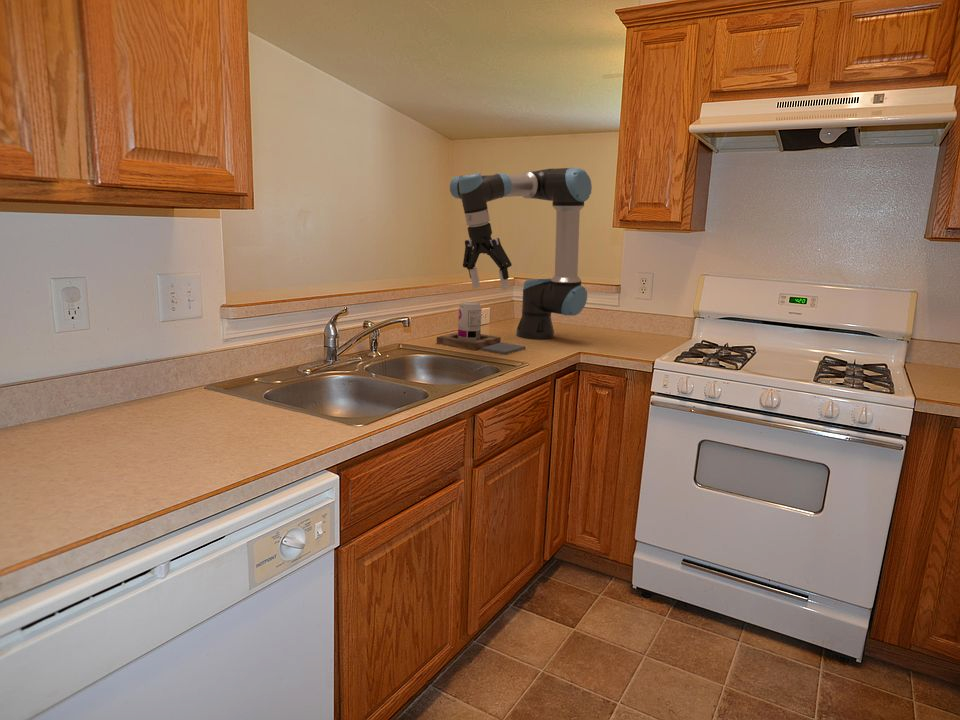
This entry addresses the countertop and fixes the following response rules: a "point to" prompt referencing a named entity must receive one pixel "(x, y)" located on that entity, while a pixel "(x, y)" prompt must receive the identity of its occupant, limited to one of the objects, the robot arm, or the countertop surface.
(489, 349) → the slate mat
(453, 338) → the walnut collar
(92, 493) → the countertop surface
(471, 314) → the supplement can
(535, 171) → the robot arm
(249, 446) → the countertop surface
